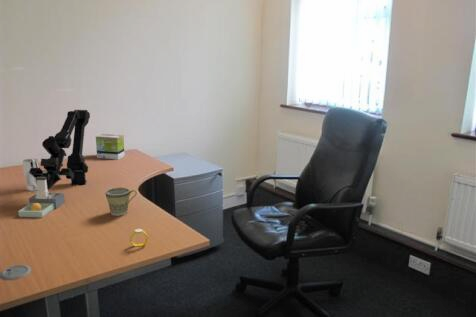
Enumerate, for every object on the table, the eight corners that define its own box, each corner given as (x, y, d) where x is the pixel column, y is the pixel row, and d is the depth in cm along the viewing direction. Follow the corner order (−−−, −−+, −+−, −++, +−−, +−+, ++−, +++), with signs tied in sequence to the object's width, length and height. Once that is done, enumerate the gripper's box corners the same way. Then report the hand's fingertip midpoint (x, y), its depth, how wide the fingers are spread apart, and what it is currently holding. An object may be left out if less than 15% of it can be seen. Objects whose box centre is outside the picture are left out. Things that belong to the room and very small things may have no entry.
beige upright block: (39, 196, 187) (37, 176, 184) (49, 197, 186) (46, 176, 184) (36, 198, 184) (34, 178, 182) (46, 199, 184) (44, 178, 182)
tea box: (96, 158, 273) (95, 136, 270) (104, 155, 283) (102, 133, 279) (118, 159, 271) (117, 137, 267) (125, 156, 281) (123, 134, 277)
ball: (36, 213, 177) (40, 214, 181) (39, 203, 178) (44, 205, 182) (27, 210, 178) (32, 211, 182) (31, 201, 179) (36, 202, 183)
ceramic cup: (109, 219, 174) (107, 196, 172) (104, 211, 183) (103, 189, 181) (140, 213, 180) (139, 191, 178) (134, 206, 189) (133, 185, 186)
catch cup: (32, 208, 186) (31, 202, 186) (54, 208, 186) (53, 203, 185) (18, 216, 176) (18, 211, 176) (42, 217, 176) (41, 211, 175)
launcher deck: (39, 201, 194) (38, 190, 193) (64, 202, 193) (63, 190, 192) (30, 208, 186) (28, 195, 185) (56, 208, 185) (55, 196, 184)
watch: (146, 243, 153) (147, 228, 152) (147, 246, 150) (148, 231, 149) (129, 244, 151) (130, 229, 150) (130, 248, 149) (130, 232, 147)
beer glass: (35, 191, 208) (31, 162, 204) (22, 190, 209) (19, 161, 206) (44, 187, 215) (41, 158, 211) (32, 186, 216) (28, 158, 212)
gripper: (28, 150, 190) (17, 181, 182) (69, 151, 189) (59, 182, 181) (39, 162, 200) (30, 192, 192) (78, 163, 199) (69, 193, 191)
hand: (46, 189), depth 189 cm, fingers closed
